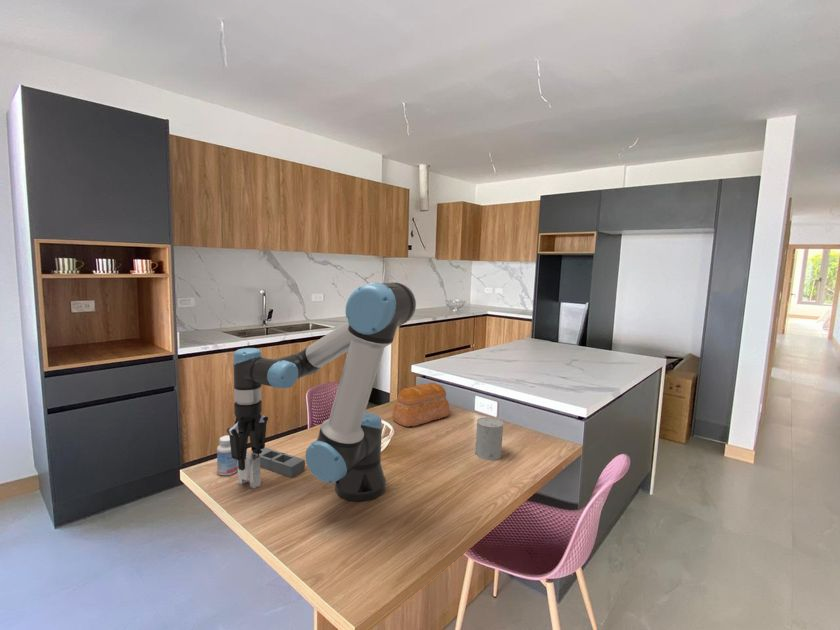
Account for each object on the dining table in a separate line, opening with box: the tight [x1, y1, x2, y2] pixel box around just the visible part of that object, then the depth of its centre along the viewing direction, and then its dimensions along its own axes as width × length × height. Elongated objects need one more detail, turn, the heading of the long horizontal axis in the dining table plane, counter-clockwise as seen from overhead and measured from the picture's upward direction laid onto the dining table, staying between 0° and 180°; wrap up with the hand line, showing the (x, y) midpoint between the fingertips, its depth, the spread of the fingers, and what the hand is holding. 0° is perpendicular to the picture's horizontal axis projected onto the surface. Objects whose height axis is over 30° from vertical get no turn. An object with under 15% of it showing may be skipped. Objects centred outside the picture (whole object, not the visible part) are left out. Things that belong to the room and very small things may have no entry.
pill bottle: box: [216, 434, 238, 476], centre depth 134 cm, size 6×6×11 cm
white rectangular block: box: [237, 451, 261, 490], centre depth 127 cm, size 7×3×9 cm, turn 63°
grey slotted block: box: [259, 446, 306, 478], centre depth 139 cm, size 18×6×4 cm, turn 63°
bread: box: [392, 382, 450, 428], centre depth 187 cm, size 14×26×15 cm, turn 131°
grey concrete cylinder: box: [474, 416, 504, 461], centre depth 154 cm, size 10×10×12 cm
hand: (249, 476), depth 128 cm, fingers closed on white rectangular block, 3 cm apart
